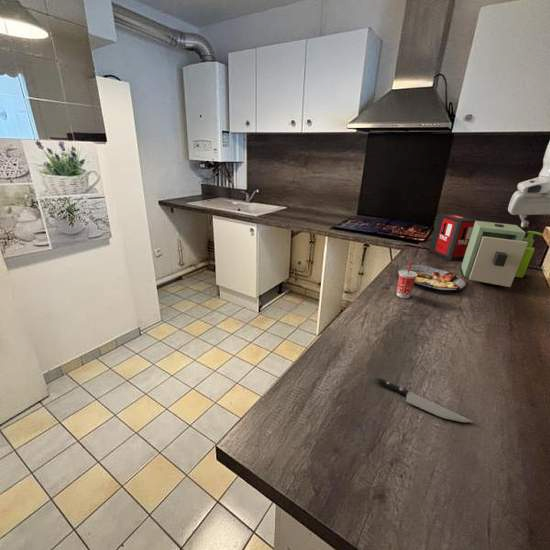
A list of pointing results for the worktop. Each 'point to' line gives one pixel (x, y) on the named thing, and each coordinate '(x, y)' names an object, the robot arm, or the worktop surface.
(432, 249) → the cleaning product box
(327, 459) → the worktop surface
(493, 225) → the box
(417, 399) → the chef's knife
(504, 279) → the basket
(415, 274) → the beverage cup
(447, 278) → the food plate
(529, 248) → the soap dispenser
